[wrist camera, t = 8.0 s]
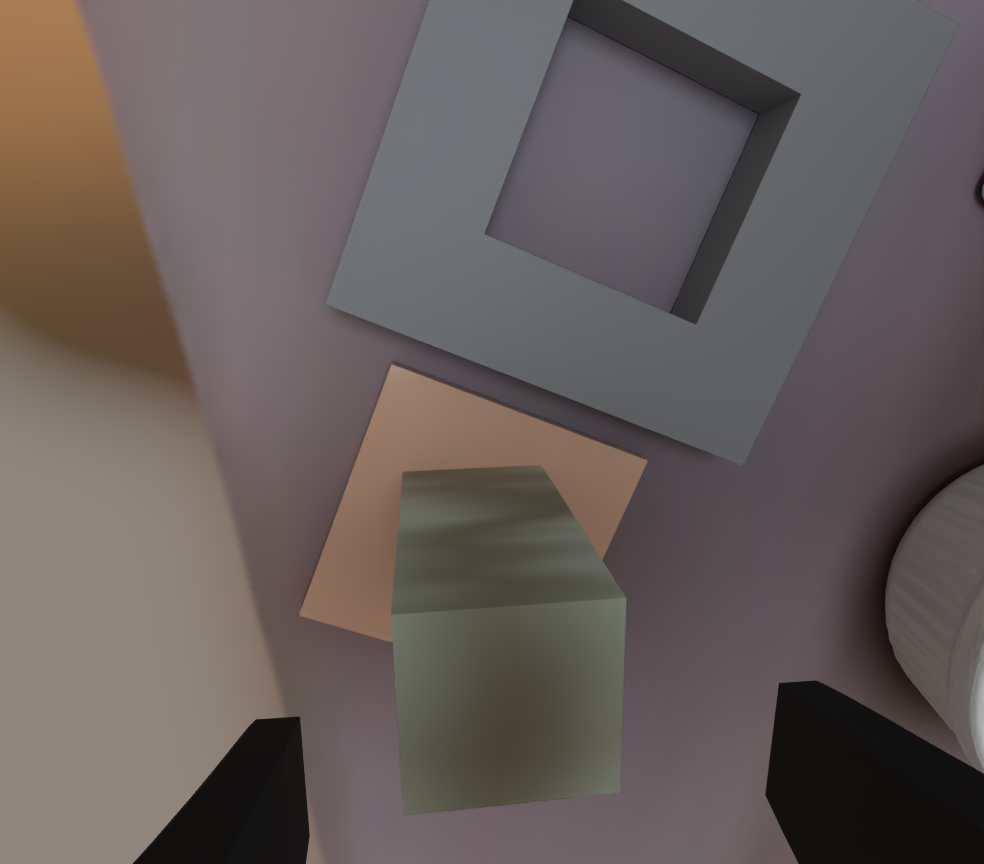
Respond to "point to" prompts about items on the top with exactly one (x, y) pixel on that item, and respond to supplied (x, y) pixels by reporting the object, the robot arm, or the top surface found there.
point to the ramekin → (944, 608)
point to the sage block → (502, 644)
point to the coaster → (440, 446)
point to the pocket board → (730, 237)
